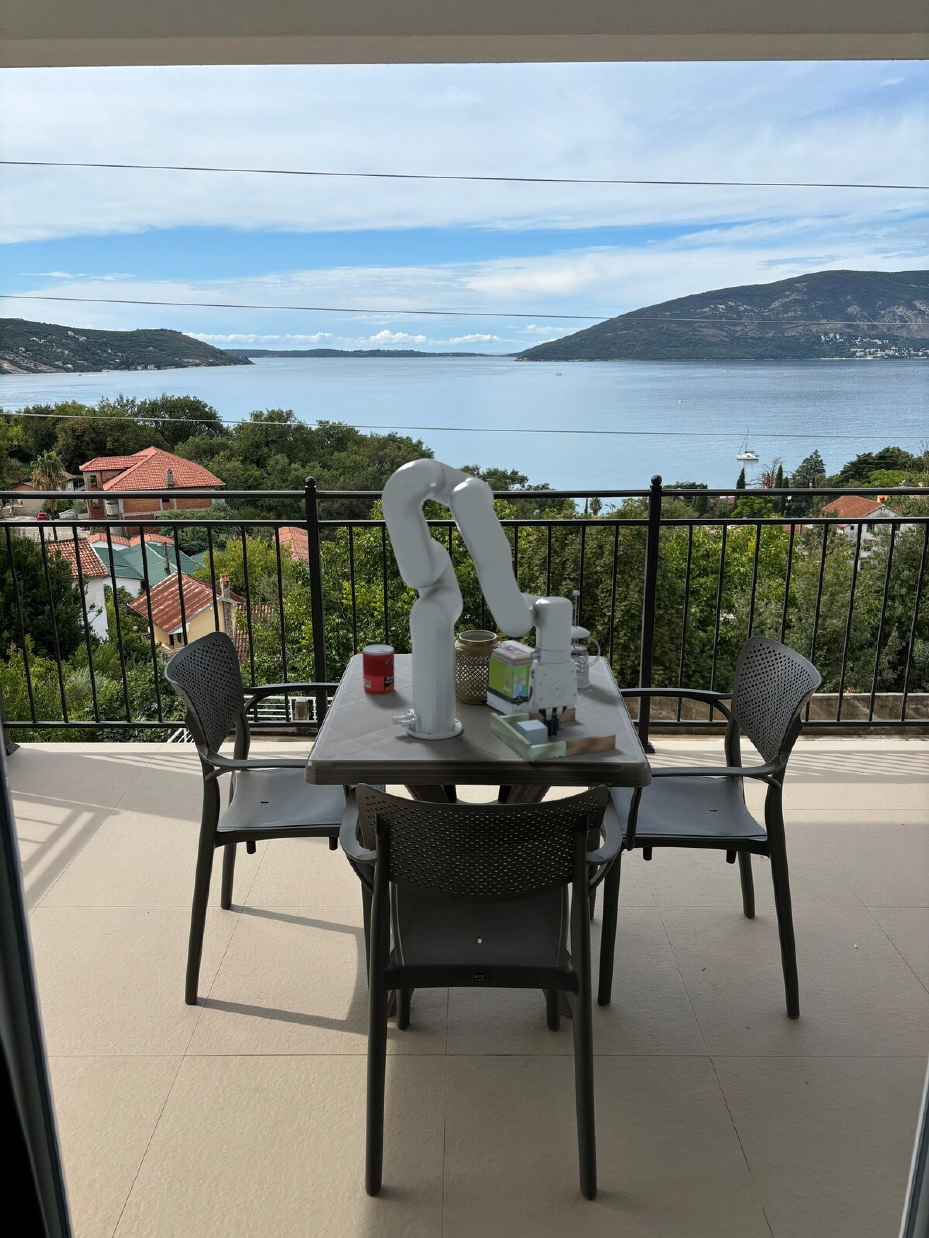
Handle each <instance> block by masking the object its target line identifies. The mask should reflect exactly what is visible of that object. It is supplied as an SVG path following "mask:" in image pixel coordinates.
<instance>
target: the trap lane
mask: <svg viewBox="0 0 929 1238" xmlns="http://www.w3.org/2000/svg"><path fill="white" fill-rule="evenodd" d="M576 708H577V707H576V706H575V705H574V706H573V707H571V708H568V709H566V710H565V711H564V712H563V713H562V716H561V718H560V719H559V723H562V722H563V723H564V722H569V721H575V720H576ZM543 718H544V717H543V716H542V715H541V714H540V713H534V712H527V713H520V714H513V715H506V714H504V715H498V713H496V712H492V713H490V731H491V730H492V731H493V733H494V734H495V736H496V737H498V736H499V737H500V738H501V739H502V740H501V739H500V738H499V737H498V738H499V739H500V740H501V741H502V742H504V743H505V744H506V743H507V744H508V745H507V744H506V745H507V746H508V747H509V746H510V747H511V748H512V749H511V748H510V747H509V748H510V749H511V750H513V751H514V753H516V754H517V753H518V754H519V755H518V754H517V755H518V756H521V757H520V758H521V759H523V761H525V760H526V761H527V762H526V761H525V762H526V763H529V761H531V762H535V761H534V760H537V761H543V760H549V758H550V759H555V758H554V757H556V758H560V757H559V756H562V757H567V756H575V755H581V754H587V753H588V754H589V753H592V752H599V751H605V750H612V749H616V740H617V739H616V738H617V736H616V735H617V734H615V733H614V732H613V733H608V734H601V735H594V736H589V737H581V738H576V739H575V738H574V739H568V740H567V739H566V740H562V741H554V742H547V744H540V745H534V746H532V743H531V742H529V741H528V740H527V739H526V738H525V737H523V736H522V735H521V734H520V733H519V732H517V722H524V721H531V720H538V721H540V722H541V723H543ZM492 731H491V732H492Z"/></svg>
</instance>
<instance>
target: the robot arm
mask: <svg viewBox="0 0 929 1238" xmlns="http://www.w3.org/2000/svg"><path fill="white" fill-rule="evenodd" d="M428 499H429V500H432V501H434V502H437V503H439V504H440V505H443V506H446V507H448V508H449V512H450V515H451V516H452V518H453V521H454V523H455V524H456V526H457V530H458V531H459V533H460V535H461V537H462V540H463V542H464V544H465V546H466V549H467V550H468V553H469V556H470V557H471V560H472V562H473V565H474V570H475V572H476V575H477V576H476V577H477V578H478V579H477V580H478V582H479V586H480V588H481V591H482V595H483V597H484V600H485V602H486V604H487V607H488V608H489V610H490V613H491V615H492V618H493V619H494V621H495V623H496V625H497V627H498V628H499V630H500V631H501V633H504V634H505V635H506V636H508V637H511V638H521V637H524V636H526V635H527V634H528V633H529V632H530V631H531V629H532V627H535V628H536V632H535V633H536V637H535V638H536V639H535V643H536V644H535V646H534V649H535V651H534V652H531V653H530V656H531V658H535V659H536V660H533V663H532V667H531V672H530V678H529V687H528V700H529V702H530V704H529V707H528V710H529V711H531V712H534V713H540V714H541V715H542V716H543V717H544V718H543V724H544V725H545V726H546V727H548V730H547V737H548V736H549V738H553V737H558V731H559V730H558V729H559V726H560V722H559V719H560V718H561V716H562V713H563V712H564V711H565V710H566V709H568V708H571V707H573V706H574V707H575V704H576V703H577V702H578V689H577V675H576V669H577V667H575V664H576V662H574V660H573V659H571V656H572V654H571V644H572V638H571V637H572V626H573V609H574V608H573V603H572V601H571V600H570V599H568V598H566V597H563V596H541V595H540V596H539V595H536V594H535V595H534V594H529V593H523V592H521V590H520V587H519V585H518V583H517V579H516V577H515V572H514V569H513V559H512V558H513V557H512V555H513V554H512V549H511V545H510V542H509V539H508V538H507V536H506V534H505V531H504V529H503V527H502V523H501V522H500V520H499V518H498V515H497V514H496V511H495V509H494V507H493V504H494V492H493V490H492V488H491V486H490V485H489V484H488V483H487V482H485V481H484V480H482V479H480V478H478V477H476V476H474V475H471V474H469V473H466V472H464V471H462V470H460V469H458V468H455V467H454V466H451V465H448V464H446V463H444V462H441V461H439V460H437V459H434V458H420V459H417V460H412V461H410V462H408V463H405V464H404V465H403V464H402V466H400V467H399V468H398V469H397V470H395V471H394V473H392V475H390V477H389V479H388V480H387V481H386V483H385V485H384V487H383V490H382V494H381V510H382V514H383V518H384V521H385V525H386V528H387V530H388V534H389V535H388V536H389V539H390V543H391V546H392V549H393V553H394V556H395V560H396V563H397V566H398V570H399V574H400V576H401V579H402V581H403V582H404V583H405V584H406V585H407V586H409V587H410V588H412V589H416V590H417V592H418V596H419V598H417V599H416V601H415V602H414V603H413V606H412V608H411V610H410V614H409V632H410V640H411V658H412V659H411V661H412V662H411V665H412V708H409V709H408V713H405V715H395V716H391V723H392V725H393V726H398V725H400V727H401V728H405V730H406V732H407V733H408V734H409V735H410V736H411V737H414V738H417V739H422V740H444V739H449V738H452V737H456V736H457V735H459V734H460V733H461V732H462V730H463V725H462V722H461V721H460V720H459V719H457V718H456V642H455V630H454V629H455V624H456V622H457V621H458V620H459V618H460V616H461V615H462V612H463V608H464V604H463V603H464V602H463V598H462V597H463V595H462V594H461V589H460V585H459V583H458V580H457V576H456V573H455V568H454V566H453V562H452V559H451V556H450V554H449V551H448V550H447V549H446V547H445V546H444V545H443V544H442V543H441V542H439V541H437V540H435V539H432V535H431V533H430V530H429V525H428V522H427V519H426V517H425V515H424V512H423V509H422V506H423V503H424V502H425V501H427V500H428Z"/></svg>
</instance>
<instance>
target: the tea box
mask: <svg viewBox="0 0 929 1238" xmlns="http://www.w3.org/2000/svg"><path fill="white" fill-rule="evenodd" d="M499 642H500V643H501V642H502V643H501V648H500V646H498V647H499V648H498V649H497V648H496V649H493V652H492V654H491V657H490V660H489V665H488V678H487V679H488V680H487V697H488V698H487V700H488V701H487V703H486V705H488V706H490V707H492V708H494V709H495V710H498V711H499V712H501V713H503V714H504V715H513V714H520V713H527V712H531V711H529V710H528V707H529V704H530V702H529V700H528V687H529V678H530V672H531V667H532V663H533V660H536V659H535V658H531V656H530V653H531V652H534V651H535V647H531V646H528V645H527V644H524V643H522V642H519V641H516V640H515V639H512V640H510V639H509V640H504V641H499Z"/></svg>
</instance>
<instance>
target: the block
mask: <svg viewBox="0 0 929 1238" xmlns="http://www.w3.org/2000/svg"><path fill="white" fill-rule="evenodd" d="M547 730H548V727H546V726H545V725H544V724H542V723H541V722H540V721H538V720H531V721H524V722H517V728H516V731H517V732H519V733H520V734H521V735H522V736H523V737H525V738H526V739H527V740H528V741H529V742H531V743H532V746H534V745H540V744H547V743H548V735H547Z"/></svg>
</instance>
